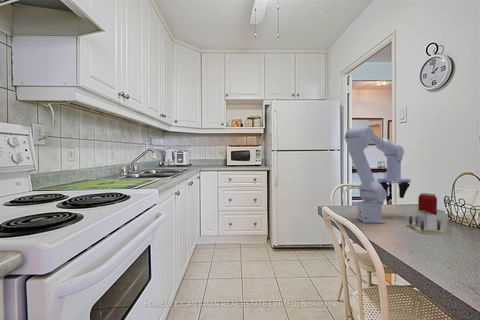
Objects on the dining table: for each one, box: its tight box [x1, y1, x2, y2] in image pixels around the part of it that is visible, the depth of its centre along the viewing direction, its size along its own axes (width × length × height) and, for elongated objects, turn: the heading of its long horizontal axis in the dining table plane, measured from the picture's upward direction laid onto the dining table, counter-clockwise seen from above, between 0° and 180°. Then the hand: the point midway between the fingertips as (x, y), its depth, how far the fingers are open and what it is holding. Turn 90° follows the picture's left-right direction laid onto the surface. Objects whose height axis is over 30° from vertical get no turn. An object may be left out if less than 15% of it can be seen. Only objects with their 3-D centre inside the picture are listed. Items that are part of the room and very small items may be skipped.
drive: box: [412, 209, 438, 231], centre depth 94 cm, size 8×4×6 cm, turn 175°
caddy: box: [405, 215, 445, 235], centre depth 94 cm, size 10×8×4 cm
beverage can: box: [417, 192, 438, 216], centre depth 108 cm, size 7×7×12 cm
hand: (393, 197), depth 113 cm, fingers open, 7 cm apart
